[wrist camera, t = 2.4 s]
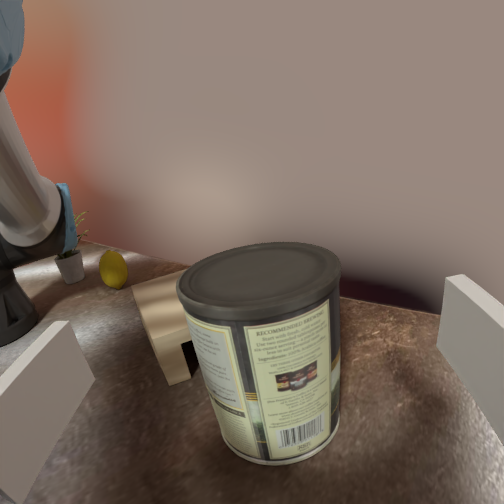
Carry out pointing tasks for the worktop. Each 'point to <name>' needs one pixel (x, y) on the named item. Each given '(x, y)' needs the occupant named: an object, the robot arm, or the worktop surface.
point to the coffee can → (268, 346)
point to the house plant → (71, 264)
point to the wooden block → (164, 324)
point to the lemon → (113, 269)
